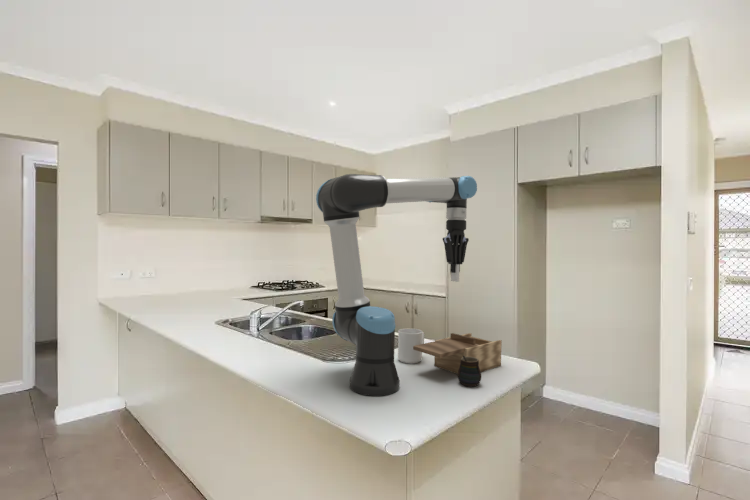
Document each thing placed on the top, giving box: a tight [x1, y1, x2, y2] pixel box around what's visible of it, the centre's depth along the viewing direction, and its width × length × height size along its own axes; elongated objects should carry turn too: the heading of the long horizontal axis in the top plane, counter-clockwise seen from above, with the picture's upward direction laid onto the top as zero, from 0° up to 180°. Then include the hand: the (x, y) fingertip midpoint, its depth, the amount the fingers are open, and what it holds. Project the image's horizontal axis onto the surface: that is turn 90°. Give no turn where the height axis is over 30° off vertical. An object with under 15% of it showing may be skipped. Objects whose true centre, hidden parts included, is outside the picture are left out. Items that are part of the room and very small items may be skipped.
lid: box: [413, 332, 479, 358], centre depth 135 cm, size 20×12×3 cm, turn 129°
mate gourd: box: [457, 355, 482, 388], centre depth 123 cm, size 7×8×10 cm
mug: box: [397, 327, 426, 365], centre depth 148 cm, size 12×9×11 cm
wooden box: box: [433, 332, 503, 375], centre depth 142 cm, size 20×14×9 cm
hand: (454, 281), depth 152 cm, fingers closed
